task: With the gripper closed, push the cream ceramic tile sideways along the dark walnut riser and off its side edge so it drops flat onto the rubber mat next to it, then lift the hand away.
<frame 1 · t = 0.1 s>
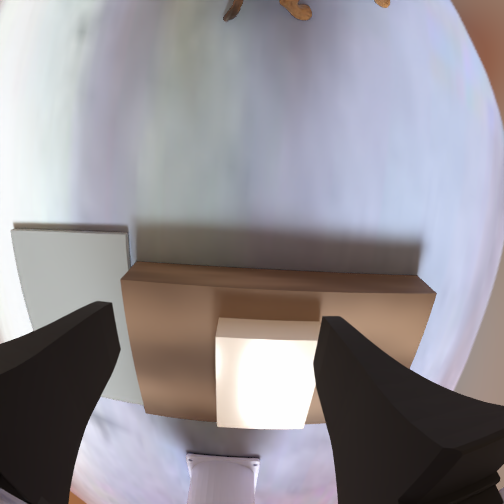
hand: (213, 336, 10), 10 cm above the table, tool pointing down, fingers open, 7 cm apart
tile: (264, 370, 19), point 3 cm above the table, touching riser
riser: (276, 344, 22), on the table
mat: (79, 324, 22), on the table
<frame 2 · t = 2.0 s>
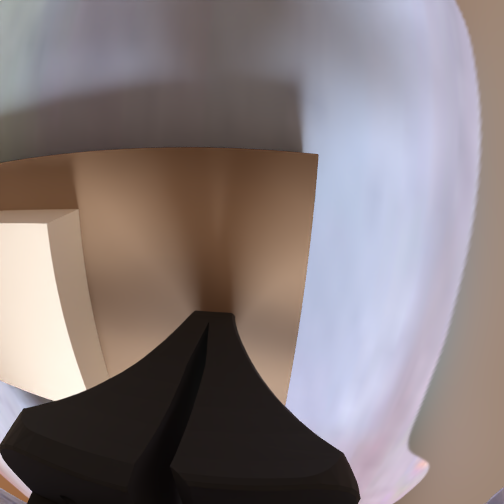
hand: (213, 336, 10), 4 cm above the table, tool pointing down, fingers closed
tile: (37, 300, 11), point 3 cm above the table, touching riser
riser: (84, 275, 14), on the table
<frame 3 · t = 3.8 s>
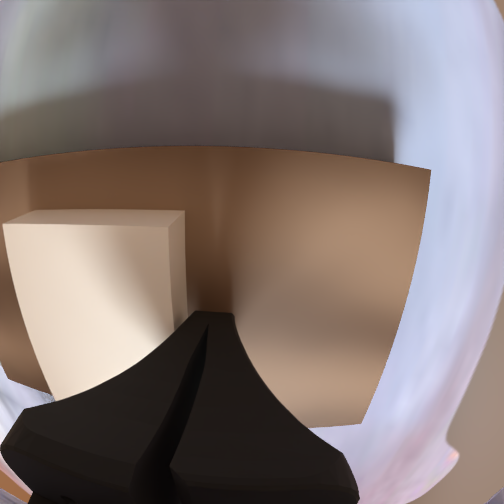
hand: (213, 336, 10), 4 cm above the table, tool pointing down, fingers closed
tile: (112, 313, 11), point 3 cm above the table, touching gripper, riser
riser: (158, 282, 13), on the table
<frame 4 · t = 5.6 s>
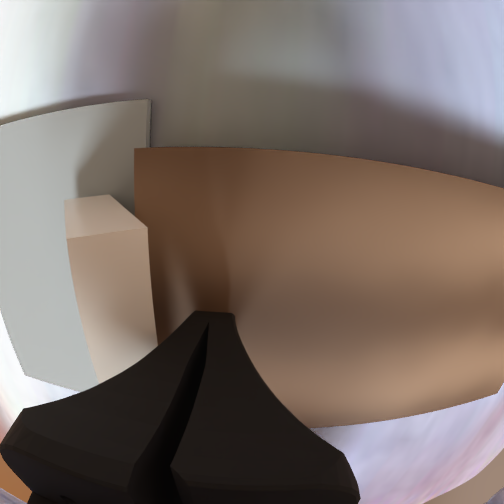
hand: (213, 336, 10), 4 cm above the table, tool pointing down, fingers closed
tile: (132, 313, 11), point 3 cm above the table, tilted 55°, touching mat
riser: (379, 292, 14), on the table
mat: (57, 274, 13), on the table
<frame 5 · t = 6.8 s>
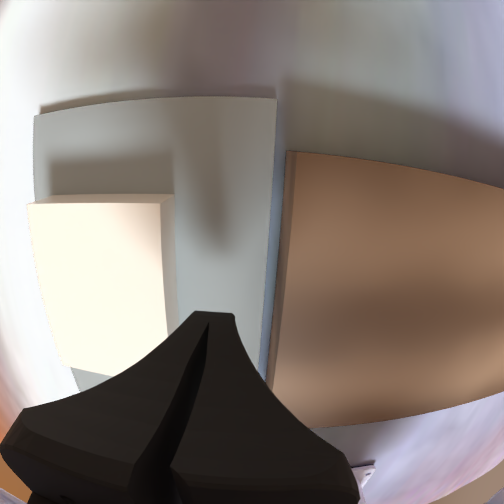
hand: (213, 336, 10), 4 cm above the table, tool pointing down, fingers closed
tile: (95, 302, 11), point 2 cm above the table, tilted 180°, touching mat
riser: (455, 292, 14), on the table
mat: (143, 282, 13), on the table
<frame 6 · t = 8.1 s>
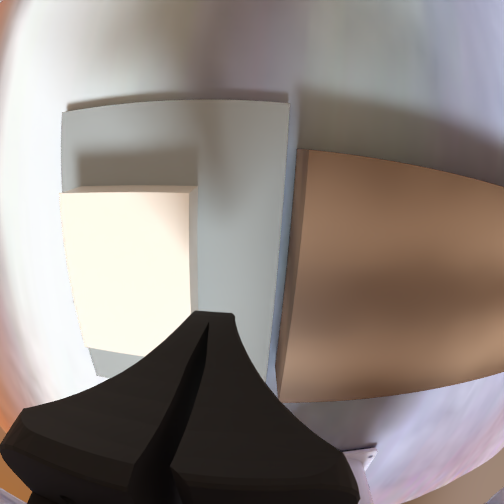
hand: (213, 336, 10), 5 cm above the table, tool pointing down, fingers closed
tile: (124, 283, 13), point 2 cm above the table, tilted 180°, touching mat
riser: (449, 278, 15), on the table
mat: (165, 266, 15), on the table
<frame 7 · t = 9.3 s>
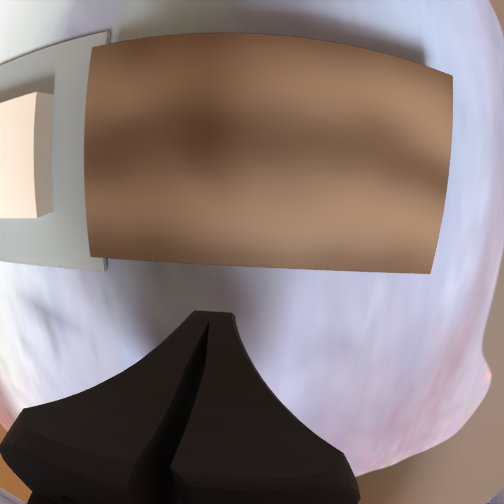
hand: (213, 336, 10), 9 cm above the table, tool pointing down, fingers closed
tile: (3, 159, 14), point 2 cm above the table, tilted 180°, touching mat
riser: (270, 149, 17), on the table
mat: (37, 156, 17), on the table
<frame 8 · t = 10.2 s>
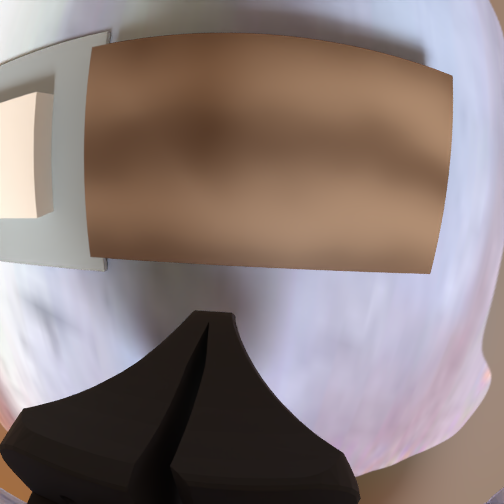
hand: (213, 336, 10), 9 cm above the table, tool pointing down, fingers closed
tile: (3, 159, 14), point 2 cm above the table, tilted 180°, touching mat
riser: (270, 149, 17), on the table
mat: (37, 156, 17), on the table
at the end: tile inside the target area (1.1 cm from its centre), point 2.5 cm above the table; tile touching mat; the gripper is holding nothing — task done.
